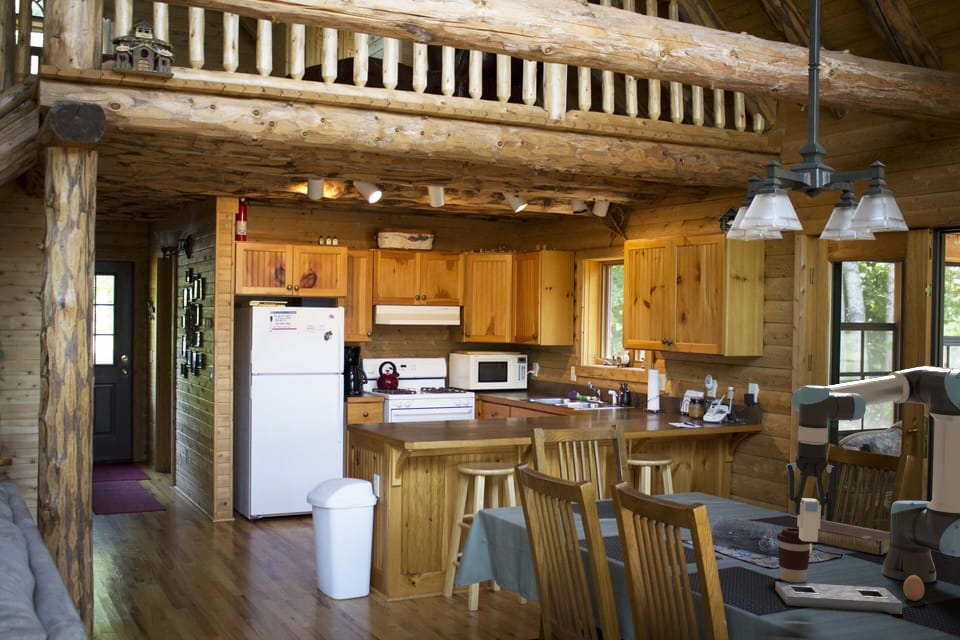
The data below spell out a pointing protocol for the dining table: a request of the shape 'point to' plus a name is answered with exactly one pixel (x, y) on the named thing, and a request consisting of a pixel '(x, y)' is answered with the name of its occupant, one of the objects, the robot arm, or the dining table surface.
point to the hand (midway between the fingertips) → (808, 526)
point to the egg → (913, 588)
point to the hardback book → (853, 537)
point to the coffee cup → (793, 555)
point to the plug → (809, 520)
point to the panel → (838, 596)
